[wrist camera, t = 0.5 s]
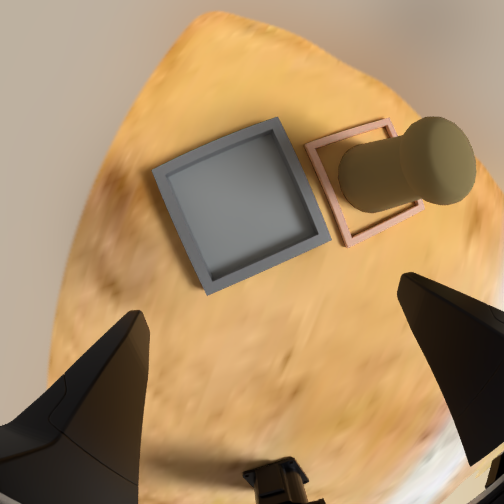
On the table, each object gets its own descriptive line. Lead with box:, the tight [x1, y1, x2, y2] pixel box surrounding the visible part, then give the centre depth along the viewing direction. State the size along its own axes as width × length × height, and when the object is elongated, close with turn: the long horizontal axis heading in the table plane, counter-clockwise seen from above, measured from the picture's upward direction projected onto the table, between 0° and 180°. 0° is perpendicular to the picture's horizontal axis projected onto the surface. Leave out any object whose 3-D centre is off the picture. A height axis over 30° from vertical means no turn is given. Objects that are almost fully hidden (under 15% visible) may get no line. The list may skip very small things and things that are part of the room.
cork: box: [338, 117, 476, 213], centre depth 16 cm, size 6×6×11 cm
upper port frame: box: [304, 118, 425, 248], centre depth 21 cm, size 9×9×1 cm
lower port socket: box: [152, 117, 332, 296], centre depth 20 cm, size 10×10×2 cm
